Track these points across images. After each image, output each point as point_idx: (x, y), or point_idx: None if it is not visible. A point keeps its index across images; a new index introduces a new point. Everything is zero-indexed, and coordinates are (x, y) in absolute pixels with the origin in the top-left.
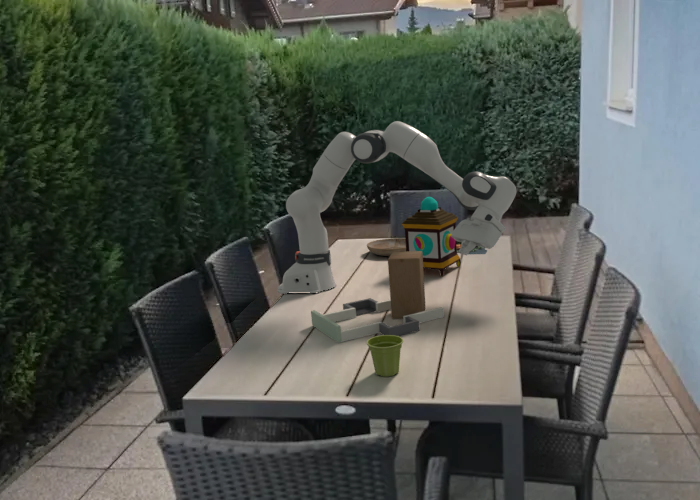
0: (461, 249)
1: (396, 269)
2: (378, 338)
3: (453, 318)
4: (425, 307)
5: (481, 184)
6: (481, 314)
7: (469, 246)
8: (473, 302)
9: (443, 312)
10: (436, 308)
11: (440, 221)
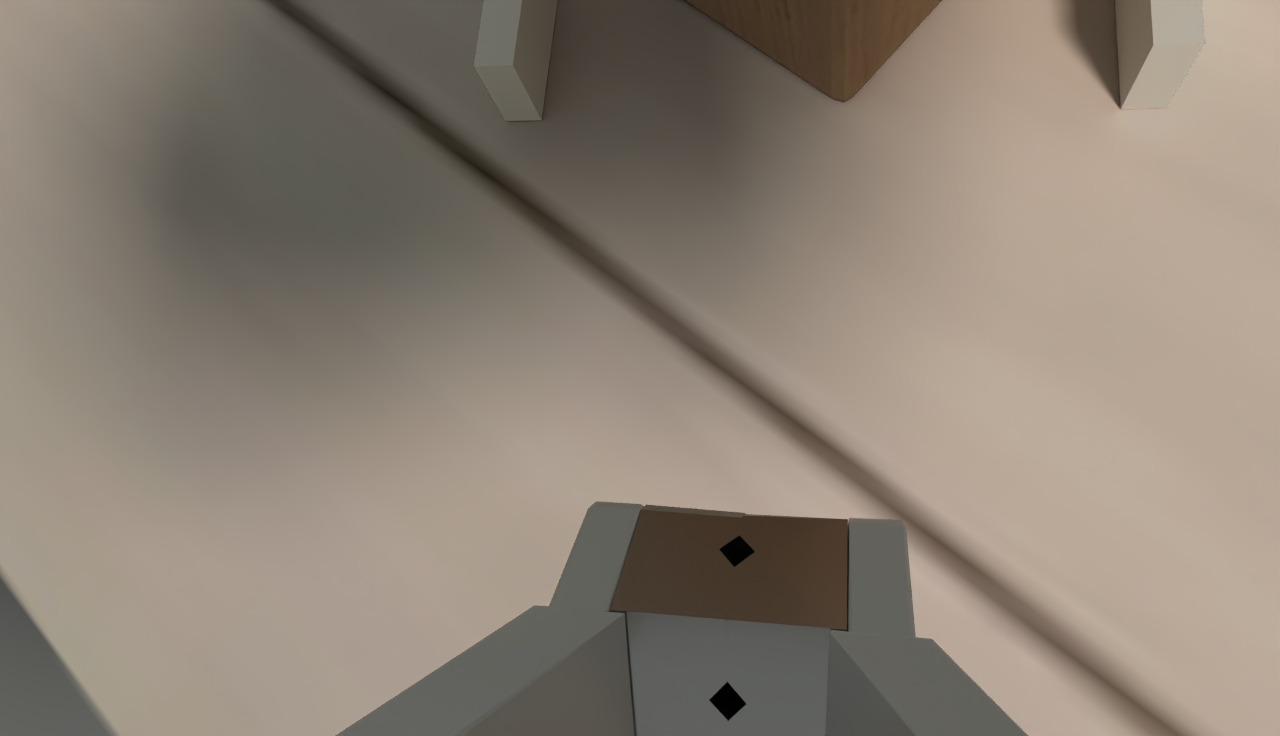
0: (793, 565)
1: None
2: None
3: (412, 170)
4: (828, 87)
5: None
6: (292, 443)
7: (417, 716)
8: None
9: (490, 94)
10: (515, 9)
11: None
